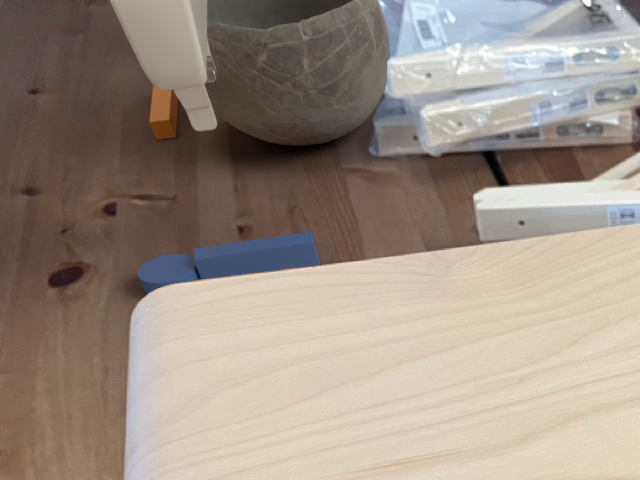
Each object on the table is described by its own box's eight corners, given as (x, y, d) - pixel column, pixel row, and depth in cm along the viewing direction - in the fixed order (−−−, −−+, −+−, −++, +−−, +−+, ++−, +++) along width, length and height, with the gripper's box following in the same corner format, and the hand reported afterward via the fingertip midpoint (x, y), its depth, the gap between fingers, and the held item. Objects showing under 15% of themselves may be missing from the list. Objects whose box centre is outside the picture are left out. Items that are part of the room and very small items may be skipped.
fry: (176, 137, 110) (169, 119, 108) (156, 140, 109) (149, 121, 108) (178, 94, 118) (172, 76, 116) (160, 96, 117) (153, 78, 116)
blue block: (318, 248, 94) (310, 223, 92) (321, 274, 91) (314, 249, 89) (145, 274, 91) (134, 249, 89) (143, 303, 87) (131, 277, 86)
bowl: (184, 125, 112) (128, -24, 101) (356, 79, 121) (322, -62, 110) (258, 195, 101) (205, 37, 90) (441, 138, 110) (412, -11, 100)
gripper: (97, -128, 77) (168, 59, 87) (73, -48, 64) (160, 163, 74) (185, -135, 79) (245, 50, 89) (179, -58, 65) (251, 150, 75)
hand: (206, 102), depth 81 cm, fingers open, 8 cm apart
